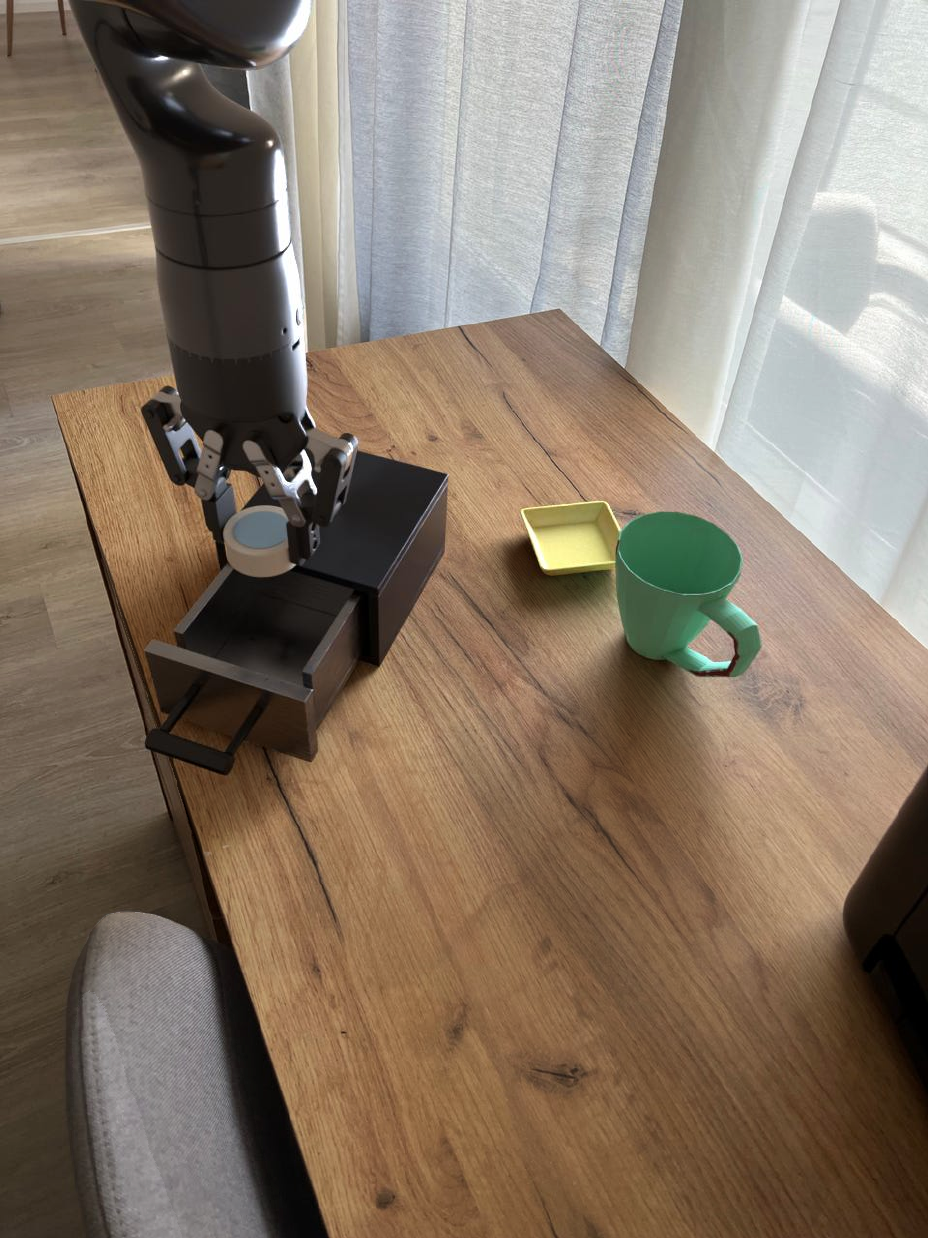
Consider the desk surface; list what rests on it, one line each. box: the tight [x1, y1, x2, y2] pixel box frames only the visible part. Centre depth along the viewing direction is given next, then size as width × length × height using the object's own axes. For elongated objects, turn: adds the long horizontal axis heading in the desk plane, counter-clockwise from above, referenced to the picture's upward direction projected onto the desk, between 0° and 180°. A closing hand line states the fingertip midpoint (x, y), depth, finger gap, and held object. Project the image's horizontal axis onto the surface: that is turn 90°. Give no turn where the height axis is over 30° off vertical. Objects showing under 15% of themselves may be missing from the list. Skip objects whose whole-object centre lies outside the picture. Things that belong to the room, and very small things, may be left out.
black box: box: [214, 447, 449, 668], centre depth 81 cm, size 15×14×9 cm
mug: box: [614, 510, 763, 678], centre depth 76 cm, size 15×10×10 cm
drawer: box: [143, 562, 370, 777], centre depth 71 cm, size 20×12×7 cm, turn 160°
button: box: [223, 506, 296, 577], centre depth 65 cm, size 5×5×2 cm
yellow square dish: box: [519, 500, 622, 577], centre depth 88 cm, size 9×9×2 cm
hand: (264, 545), depth 65 cm, fingers closed on button, 5 cm apart
